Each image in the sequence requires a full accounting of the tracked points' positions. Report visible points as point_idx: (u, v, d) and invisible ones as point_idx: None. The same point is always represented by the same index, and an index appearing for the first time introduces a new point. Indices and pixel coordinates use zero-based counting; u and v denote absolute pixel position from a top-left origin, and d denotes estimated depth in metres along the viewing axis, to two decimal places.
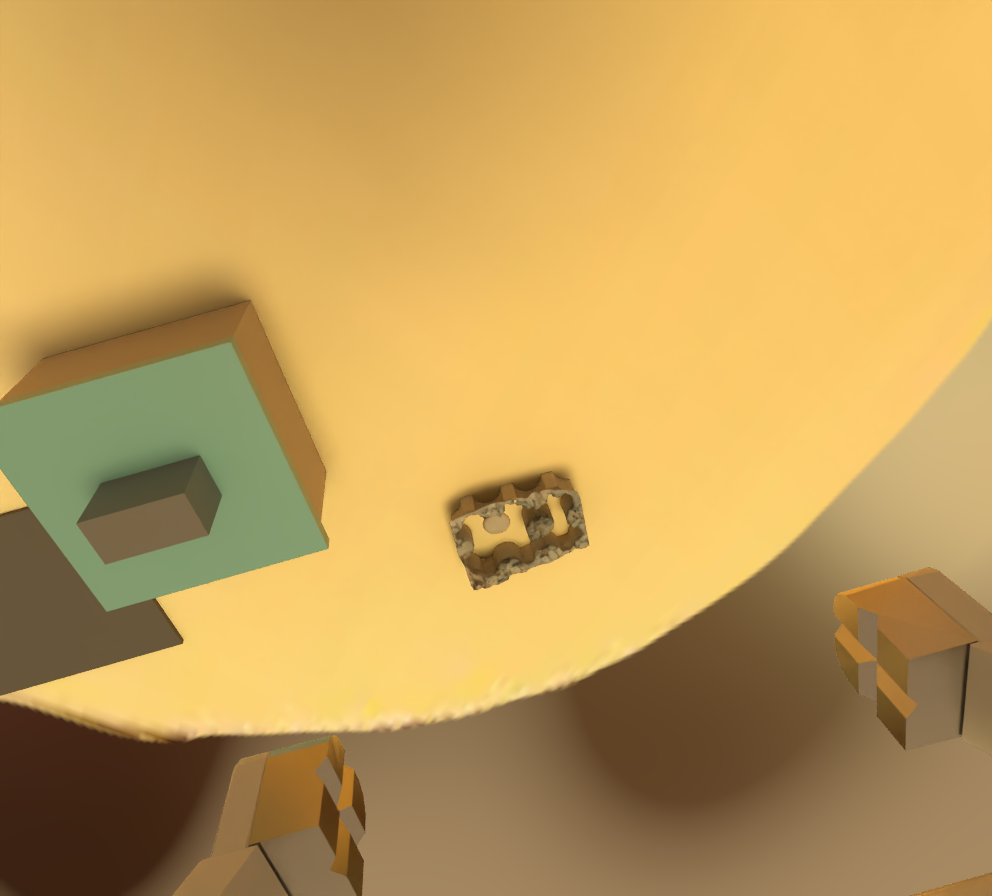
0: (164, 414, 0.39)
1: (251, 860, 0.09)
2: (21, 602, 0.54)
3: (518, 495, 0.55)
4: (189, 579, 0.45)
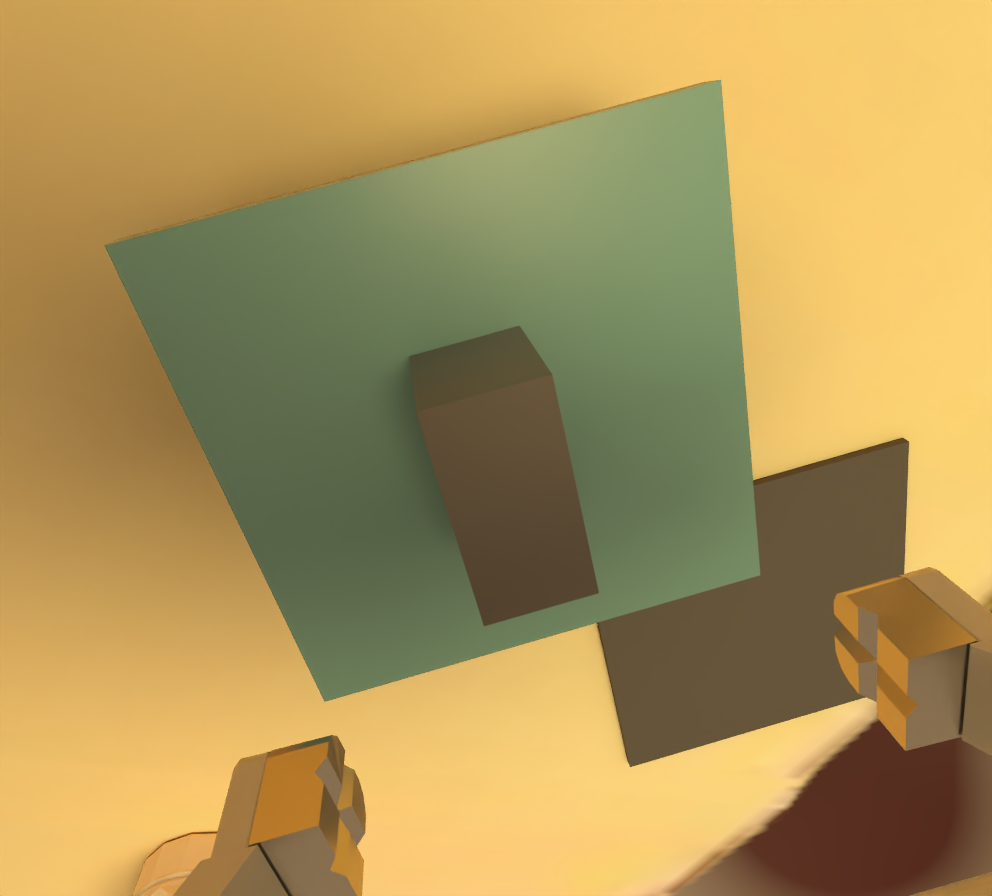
0: (307, 409, 0.18)
1: (251, 860, 0.09)
2: (750, 635, 0.36)
3: None
4: (726, 425, 0.20)
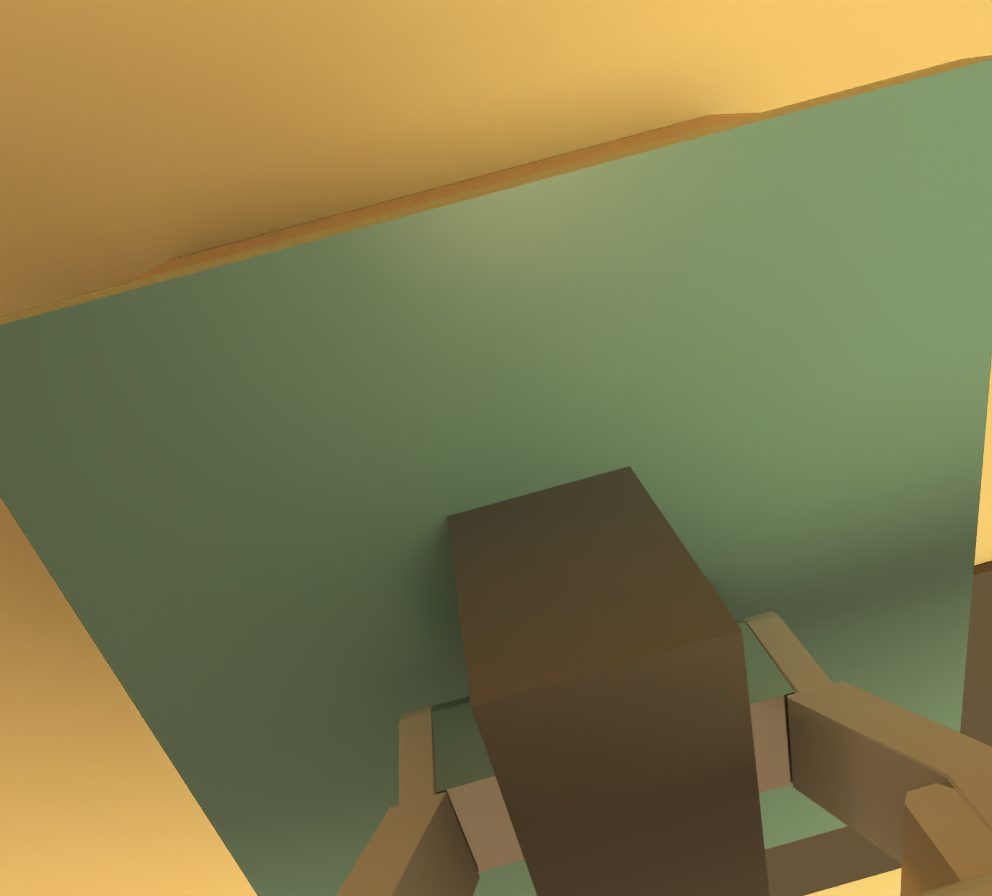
0: (277, 599, 0.11)
1: (441, 807, 0.09)
2: None
3: None
4: (937, 602, 0.13)
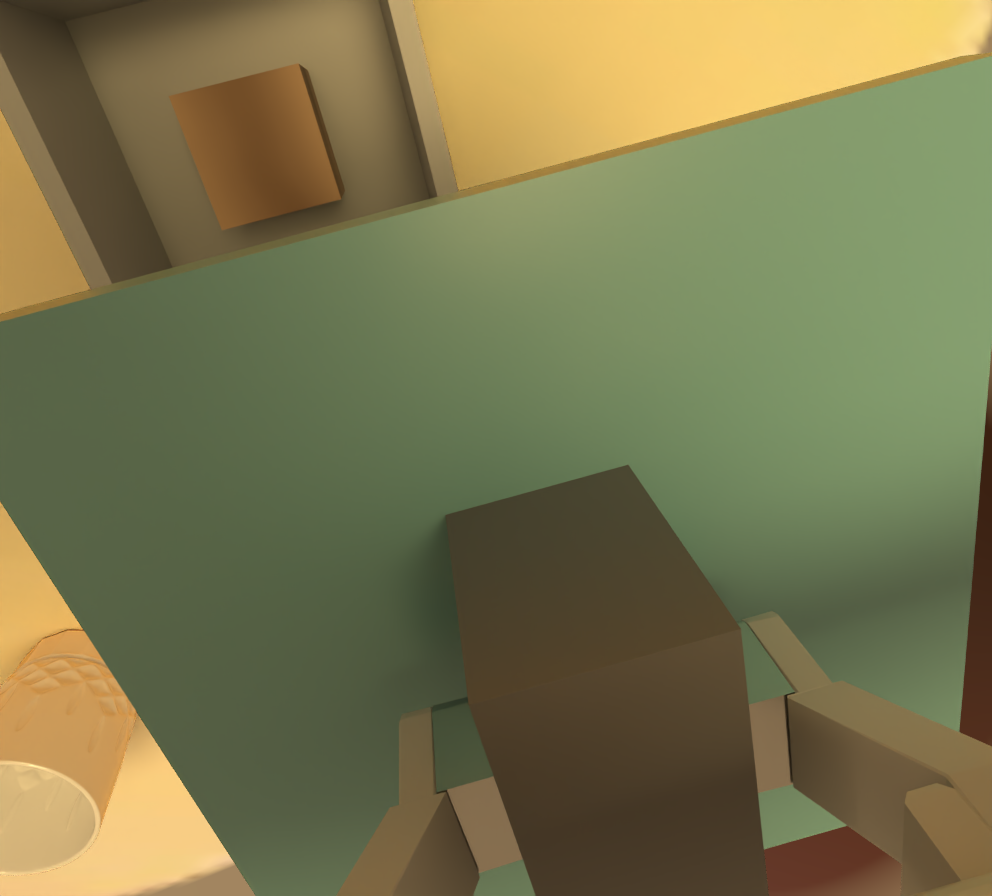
0: (275, 598, 0.11)
1: (441, 806, 0.09)
2: None
3: None
4: (936, 600, 0.13)
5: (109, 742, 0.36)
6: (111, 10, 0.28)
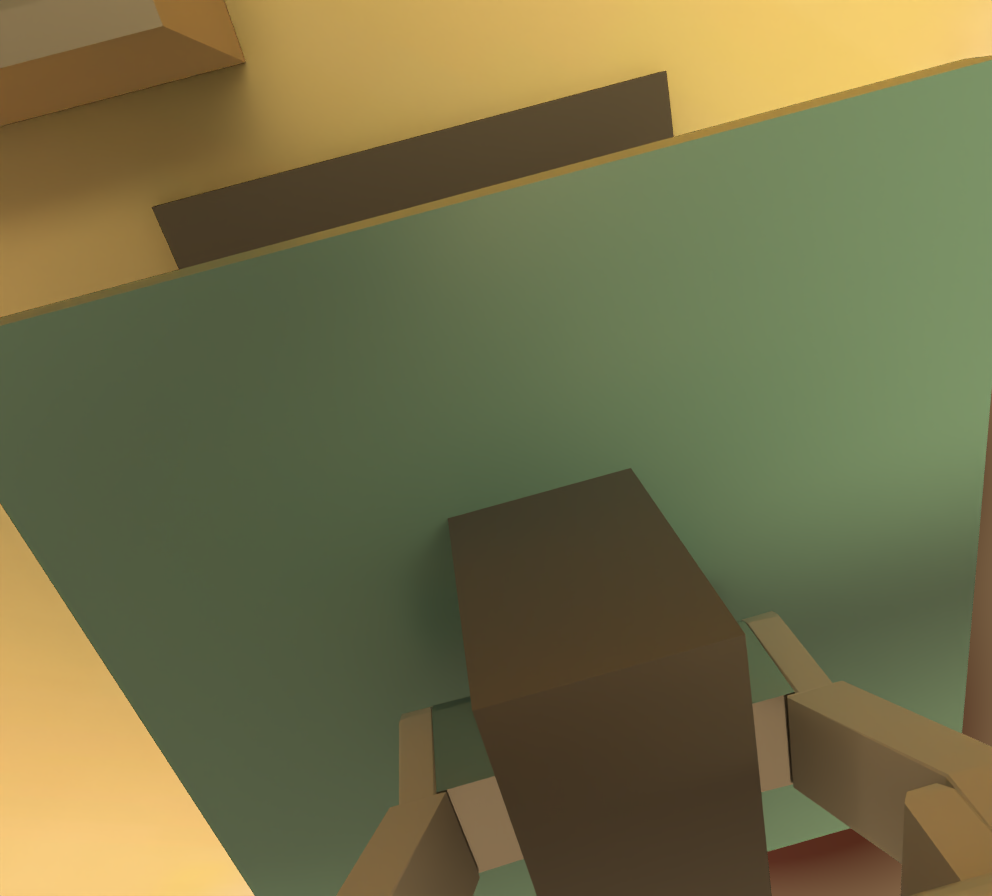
0: (276, 602, 0.11)
1: (442, 806, 0.09)
2: None
3: None
4: (939, 603, 0.13)
5: None
6: None
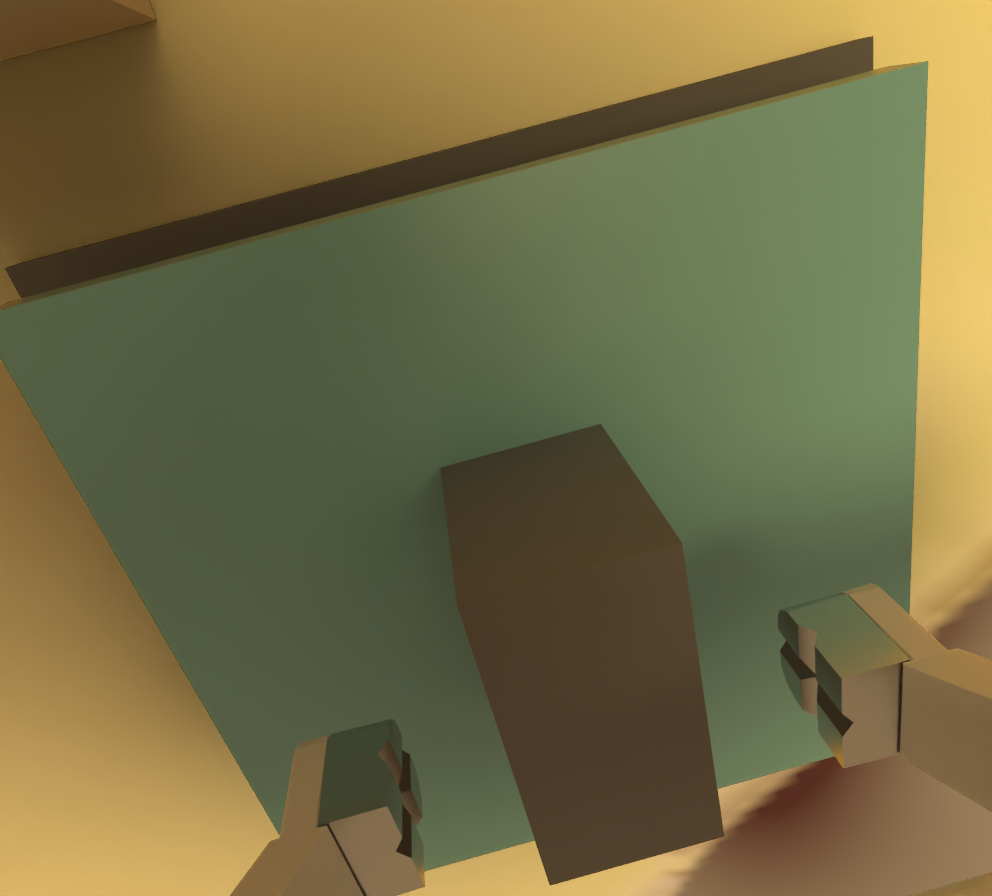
0: (290, 541, 0.13)
1: (321, 840, 0.09)
2: None
3: None
4: (881, 551, 0.15)
5: None
6: None
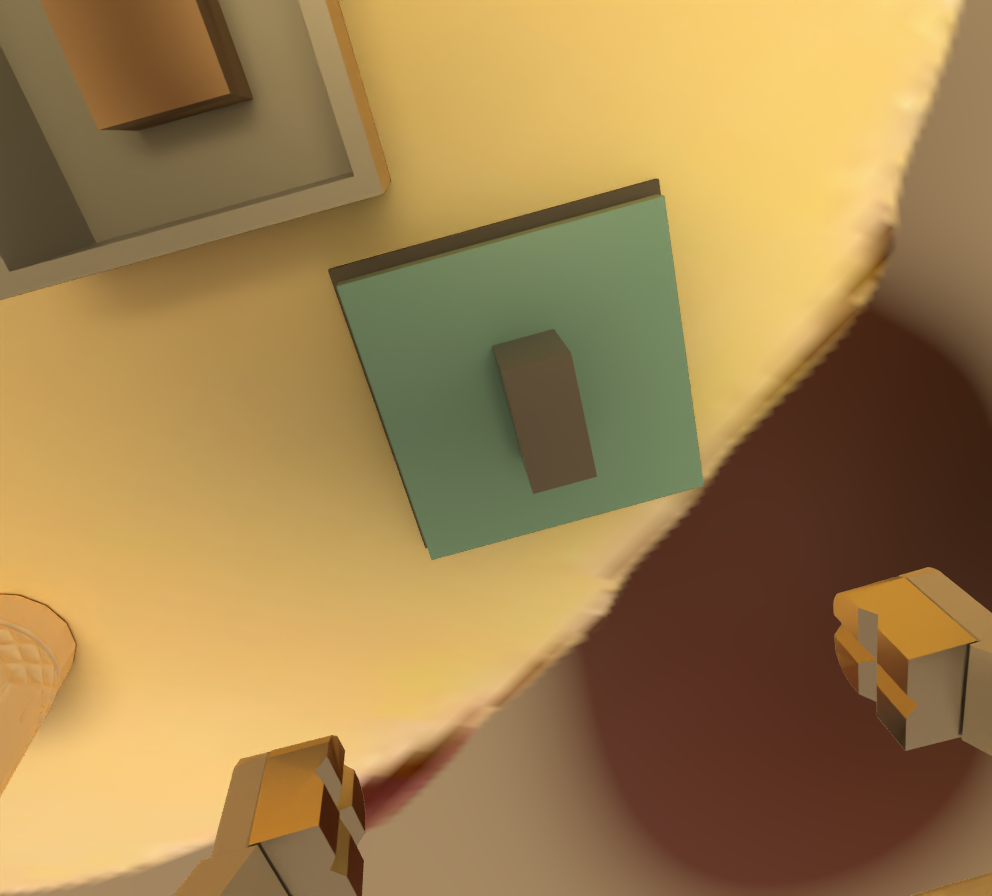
0: (433, 375, 0.33)
1: (251, 860, 0.09)
2: None
3: None
4: (676, 388, 0.34)
5: (12, 711, 0.33)
6: None
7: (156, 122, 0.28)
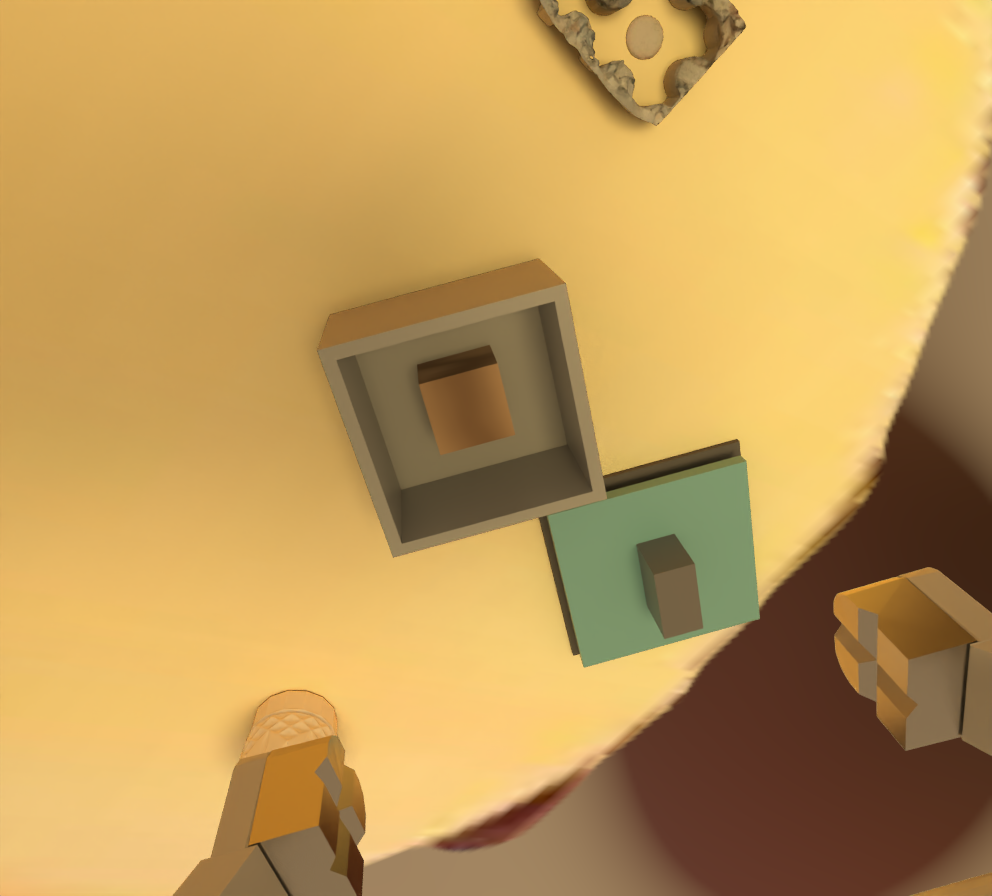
0: (598, 561, 0.52)
1: (251, 860, 0.09)
2: None
3: None
4: (746, 563, 0.54)
5: None
6: None
7: None
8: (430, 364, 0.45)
